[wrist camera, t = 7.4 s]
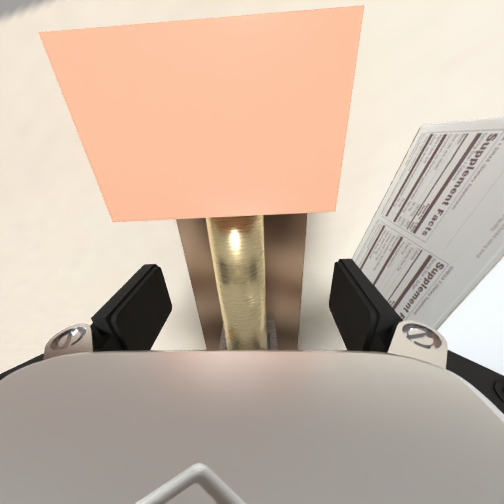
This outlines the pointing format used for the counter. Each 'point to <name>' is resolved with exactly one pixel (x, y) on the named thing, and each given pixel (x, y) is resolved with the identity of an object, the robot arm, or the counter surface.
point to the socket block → (213, 111)
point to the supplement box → (446, 237)
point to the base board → (276, 275)
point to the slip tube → (240, 278)
